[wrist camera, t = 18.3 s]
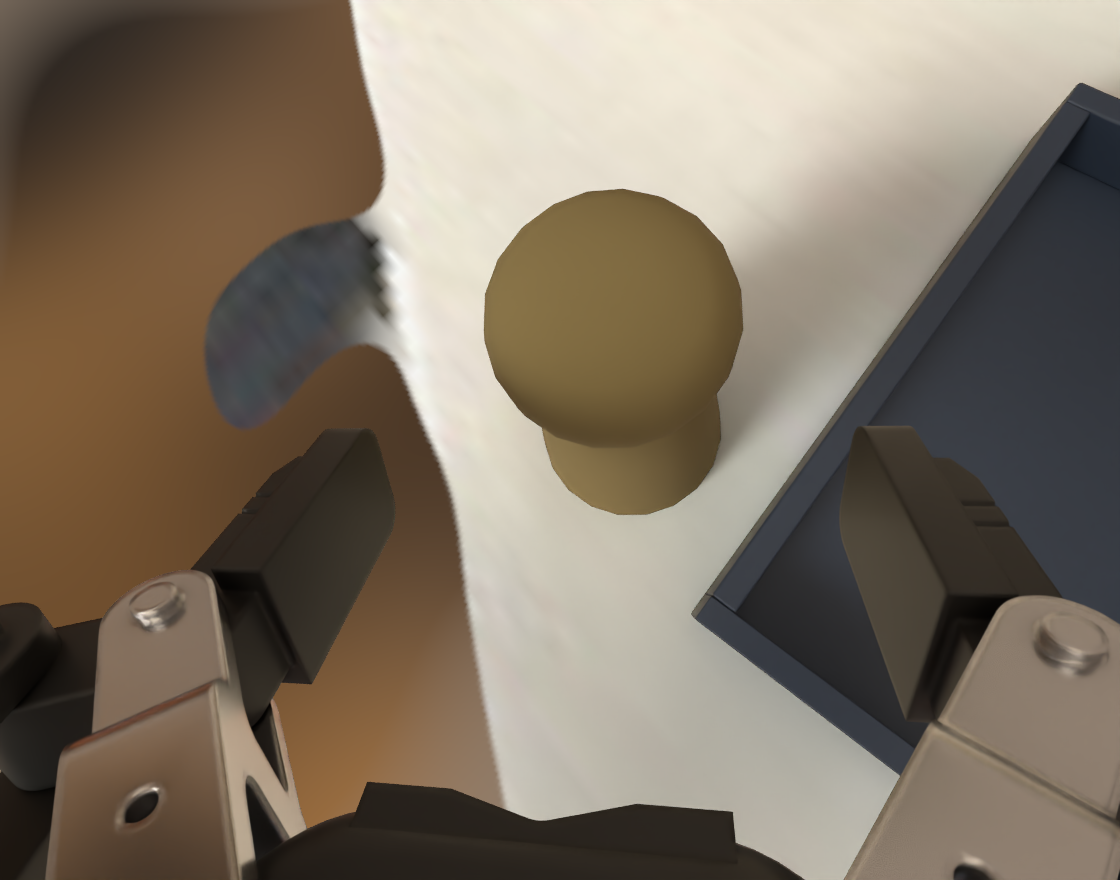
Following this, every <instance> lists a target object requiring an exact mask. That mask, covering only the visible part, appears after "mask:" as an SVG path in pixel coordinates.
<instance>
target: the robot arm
mask: <svg viewBox="0 0 1120 880" xmlns="http://www.w3.org/2000/svg"><path fill="white" fill-rule="evenodd" d="M394 520H395V502H394V497H393V493H392V490H391V486H390V482H389V479H388V476H387V472H386V468H385V465H384V461H383V458H382V454H381V451H380V447H379V444H378V440H377V437H376V435H375V434H374V432H373V431H372V430H370V429H327V430H325V431H323V432H322V434H321V435H320V436H319V437H318V438H317V440H316V441H315V442H314V443H313V444H312V446H311V447H310V448H309V449H308V450H307V452H306V453H305V454H304V455H303V456H302V457H301V456H300V457H297V458H295V459H294V460H292V461H291V462H289V463H288V464H286V465H285V466H284V467H282V468H280V469H279V470H277V471H276V472H274V473H273V474H272V475H271V476H270V477H269V479H268V480H267V481H266V482H265V483H264V484H263V486H262V487H261V488H260V489H259V490H258V491H257V493H256V497H252V499H251V500H250V501H249V502H248V503H247V504H246V505H245V507H244V508H243V509H242V514H238V515H237V516H236V517H235V518H234V519H233V520H232V522H231V523H230V524H229V525H228V526H227V528H226V529H225V530H224V531H223V532H222V533H221V534H220V536H219V537H218V538H217V539H216V540H215V541H214V543H213V544H212V545H211V546H210V547H209V549H208V550H207V551H206V552H205V553H204V554H203V555H202V557H201V558H200V559H199V560H198V561H197V562H196V564H195V565H194V566H193V567H192V568H191V570H181V571H174V572H170V573H166V574H163V575H159V576H157V577H154V578H152V579H150V580H147V581H145V582H143V583H142V584H139V585H138V586H136V587H134V588H133V589H131V590H130V591H128V592H127V593H126V594H124V595H123V596H122V597H120V598H119V599H118V600H117V601H116V602H115V603H114V604H113V605H112V606H111V607H110V608H109V610H108V611H107V612H106V614H105V615H104V617H103V618H100V619H96V620H90V621H86V622H81V623H76V624H72V625H67V626H63V627H57V628H53V627H52V625H51V624H50V623H49V622H48V620H47V619H46V617H45V616H44V614H43V613H42V612H41V610H40V609H39V608H38V607H37V606H35V605H33V604H29V603H11V604H5V605H1V606H0V770H1V773H0V880H804V879H803V878H802V877H800V876H799V875H797V874H796V873H794V872H793V871H791V870H790V869H788V868H787V867H785V866H783V865H782V864H780V863H779V862H777V861H775V860H773V859H771V858H769V857H767V856H765V855H763V854H762V853H760V852H758V851H756V850H754V849H751V848H748V847H746V846H743V845H740V844H738V843H736V842H735V831H734V820H733V812H729V811H717V810H704V809H692V808H680V807H668V806H656V805H643V804H634V805H629V806H623V807H618V808H612V809H607V810H602V811H596V812H591V813H585V814H580V815H575V816H569V817H564V818H558V819H553V820H547V821H536V820H532V819H528V818H526V817H523V816H520V815H518V814H515V813H513V812H510V811H508V810H505V809H502V808H500V807H497V806H495V805H492V804H489V803H487V802H484V801H482V800H479V799H476V798H474V797H471V796H469V795H466V794H464V793H461V792H458V791H456V790H453V789H448V788H436V787H424V786H411V785H399V784H387V783H375V782H367V784H366V787H365V789H364V792H363V795H362V797H361V800H360V802H359V805H358V807H357V810H356V812H353V813H348V814H345V815H342V816H339V817H336V818H333V819H330V820H326V821H324V822H322V823H320V824H317V825H315V826H313V827H310V828H308V829H307V827H306V824H305V821H304V819H303V815H302V812H301V809H300V805H299V801H298V796H297V792H296V787H295V783H294V778H293V774H292V769H291V765H290V760H289V756H288V751H287V747H286V743H285V738H284V734H283V729H282V725H281V720H280V716H279V711H278V708H277V706H276V704H275V702H274V700H273V696H274V694H275V692H276V691H277V689H278V688H279V686H280V684H281V683H299V684H312V683H313V681H314V679H315V677H316V675H317V673H318V672H319V670H320V668H321V666H322V664H323V662H324V660H325V658H326V656H327V654H328V652H329V650H330V649H331V647H332V645H333V643H334V641H335V639H336V637H337V635H338V633H339V632H340V630H341V627H342V626H343V624H344V622H345V620H346V618H347V616H348V614H349V612H350V610H351V609H352V607H353V605H354V603H355V601H356V599H357V597H358V595H359V593H360V591H361V590H362V588H363V586H364V584H365V582H366V580H367V578H368V576H369V574H370V572H371V570H372V569H373V567H374V565H375V563H376V561H377V559H378V557H379V555H380V553H381V552H382V550H383V548H384V546H385V544H386V542H387V540H388V538H389V536H390V534H391V532H392V529H393V526H394ZM839 522H840V533H841V538H842V542H843V546H844V548H845V551H846V554H847V557H848V560H849V563H850V565H851V568H852V571H853V574H854V577H855V579H856V582H857V585H858V588H859V591H860V594H861V596H862V599H863V602H864V605H865V608H866V610H867V613H868V616H869V619H870V622H871V625H872V627H873V630H874V633H875V636H876V639H877V641H878V644H879V647H880V650H881V653H882V655H883V658H884V661H885V664H886V667H887V670H888V672H889V675H890V678H891V681H892V684H893V686H894V689H895V692H896V695H897V698H898V701H899V703H900V706H901V709H902V712H903V715H904V717H905V720H906V721H908V722H925V723H930V724H929V726H928V727H927V729H926V730H925V732H924V734H923V736H922V737H921V739H920V741H919V743H918V745H917V747H916V748H915V750H914V752H913V754H912V756H911V758H910V759H909V761H908V763H907V765H906V767H905V769H904V770H903V772H902V774H901V776H900V778H899V780H898V781H897V783H896V785H895V787H894V789H893V791H892V792H891V794H890V796H889V798H888V800H887V802H886V803H885V805H884V807H883V809H882V811H881V812H880V814H879V816H878V818H877V820H876V822H875V823H874V825H873V827H872V829H871V831H870V833H869V834H868V836H867V838H866V840H865V842H864V844H863V845H862V847H861V849H860V851H859V853H858V855H857V856H856V858H855V860H854V862H853V864H852V866H851V867H850V869H849V871H848V873H847V875H846V877H845V878H844V880H1117V878H1118V874H1119V870H1120V624H1118V623H1117V622H1115V621H1114V620H1112V619H1111V618H1109V617H1107V616H1105V615H1103V614H1102V613H1100V612H1098V611H1096V610H1094V609H1091V608H1089V607H1087V606H1084V605H1082V604H1079V603H1076V602H1073V601H1070V600H1066V599H1064V598H1063V597H1062V595H1061V594H1060V593H1059V591H1058V590H1057V588H1056V587H1055V586H1054V584H1053V583H1052V581H1051V580H1050V578H1049V577H1048V576H1047V574H1046V573H1045V571H1044V570H1043V569H1042V567H1041V566H1040V564H1039V563H1038V561H1037V560H1036V559H1035V557H1034V556H1033V554H1032V553H1031V552H1030V550H1029V549H1028V547H1027V546H1026V544H1025V543H1024V542H1023V540H1022V539H1021V537H1020V536H1019V535H1018V533H1017V532H1016V530H1015V529H1014V527H1010V526H1009V520H1008V519H1007V518H1006V516H1005V515H1004V513H1003V512H1002V510H1001V509H1000V508H999V507H996V506H995V501H994V499H993V498H992V496H991V495H990V493H989V492H988V491H987V489H986V488H985V486H984V485H983V484H982V482H981V481H980V479H979V478H978V477H976V476H975V475H974V474H972V473H971V472H969V471H968V470H966V469H965V468H963V467H962V466H961V465H959V464H958V463H956V462H955V461H953V460H952V459H951V458H933V457H932V456H931V454H930V453H929V451H928V449H927V448H926V446H925V445H924V443H923V442H922V440H921V438H920V437H919V435H918V434H917V432H916V431H915V429H914V428H913V427H912V426H859V427H857V428H856V430H855V432H854V434H853V438H852V443H851V448H850V454H849V459H848V464H847V470H846V475H845V481H844V486H843V492H842V497H841V503H840V512H839Z"/></svg>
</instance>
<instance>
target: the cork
mask: <svg viewBox="0 0 1120 880" xmlns="http://www.w3.org/2000/svg"><path fill="white" fill-rule="evenodd" d="M742 332H743V316H742V299H741V289H740V285H739V282H738V279H737V277H736V274H735V272H734V270H733V267H732V265H731V263H730V260H729V258H728V256H727V253H726V251H725V249H724V246H723V244H722V243H721V242H720V241H719V240H718V239H717V238H716V236H715V235H714V234H713V233H712V232H711V231H710V230H709V229H708V228H707V227H706V226H705V225H704V223H703V222H702V221H701V220H700V219H699V218H698V217H697V216H695V215H694V214H692V213H690V212H688V211H686V210H684V209H683V208H681V207H679V206H677V205H675V204H674V203H672V202H670V201H668V200H666V199H665V198H662V197H659V196H655V195H650V194H645V193H640V192H635V191H631V190H626V189H616V190H603V191H591V192H585V193H583V194H580V195H577V196H575V197H572V198H569V199H567V200H564V201H561V202H559V203H556V204H554V205H552V206H551V207H550V208H548V209H547V210H545V211H544V212H543V213H541V214H540V215H539V216H537V217H536V218H535V219H533V220H532V221H530V222H529V223H528V224H526V225H525V226H524V227H523V228H522V229H521V230H520V231H519V233H518V234H517V235H516V236H515V238H514V239H513V240H512V242H511V243H510V244H509V246H508V247H507V248H506V250H505V251H504V252H503V253H502V255H501V256H500V257H499V259H498V261H497V263H496V266H495V269H494V271H493V274H492V277H491V280H490V282H489V285H488V288H487V290H486V293H485V312H484V339H485V345H486V348H487V351H488V354H489V358H490V361H491V364H492V368H493V371H494V374H495V377H496V379H497V380H498V382H499V383H500V384H501V386H502V387H503V388H504V390H505V391H506V393H507V394H508V395H509V397H510V398H511V399H512V401H513V402H514V404H515V405H516V406H517V408H518V409H519V410H520V411H521V412H522V413H523V414H524V415H525V416H526V417H527V418H529V419H530V420H532V421H533V422H535V423H536V424H537V425H539V426H540V427H542V431H543V436H544V441H545V445H546V448H547V451H548V454H549V457H550V460H551V464H552V467H553V469H554V470H555V472H556V473H557V474H558V476H559V477H560V479H561V480H562V481H563V483H564V484H565V485H566V487H567V488H568V490H569V491H571V492H572V493H574V494H575V495H576V496H578V497H579V498H581V499H582V500H583V501H585V502H586V503H588V504H589V505H590V506H592V507H595V508H599V509H602V510H605V511H608V512H611V513H614V514H618V515H643V514H650V513H653V512H656V511H659V510H662V509H665V508H668V507H671V506H674V505H675V504H676V503H678V502H679V501H681V500H682V499H683V498H685V497H686V496H687V495H689V494H690V493H691V492H693V491H694V490H695V489H697V488H698V486H699V485H700V483H701V482H702V480H703V479H704V478H705V476H706V475H707V473H708V472H709V470H710V469H711V468H712V466H713V464H714V460H715V457H716V454H717V450H718V447H719V443H720V440H721V431H720V411H719V405H718V400H717V392H718V391H719V390H720V388H721V387H722V385H723V384H724V383H725V381H726V380H727V378H728V377H729V374H730V371H731V369H732V366H733V362H734V359H735V356H736V352H737V349H738V345H739V342H740V339H741V335H742Z"/></svg>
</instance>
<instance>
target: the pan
mask: <svg viewBox="0 0 1120 880" xmlns="http://www.w3.org/2000/svg"><path fill="white" fill-rule="evenodd" d="M859 426H912V427H913V428H914V429H915V431H916V432H917V434H918V435H919V437H920V438H921V440H922V442H923V443H924V445H925V446H926V448H927V449H928V451H929V453H930V454H931V456H932V457H933V458H951V459H952V460H953V461H955V462H956V463H958V464H959V465H961V466H962V467H963V468H965V469H966V470H968V471H969V472H971V473H972V474H974V475H975V476H976V477H978V478H979V479H980V481H981V482H982V484H983V485H984V486H985V488H986V489H987V491H988V492H989V493H990V495H991V496H992V498H993V499H994V501H995V506H996V507H999V508H1000V509H1001V510H1002V512H1003V513H1004V515H1005V516H1006V518H1007V519H1008V520H1009V526H1010V527H1014V529H1015V530H1016V532H1017V533H1018V535H1019V536H1020V537H1021V539H1022V540H1023V542H1024V543H1025V544H1026V546H1027V547H1028V549H1029V550H1030V552H1031V553H1032V554H1033V556H1034V557H1035V559H1036V560H1037V561H1038V563H1039V564H1040V566H1041V567H1042V569H1043V570H1044V571H1045V573H1046V574H1047V576H1048V577H1049V578H1050V580H1051V581H1052V583H1053V584H1054V586H1055V587H1056V588H1057V590H1058V591H1059V593H1060V594H1061V595H1062V597H1063V598H1064V599H1066V600H1070V601H1073V602H1076V603H1079V604H1082V605H1084V606H1087V607H1089V608H1091V609H1094V610H1096V611H1098V612H1100V613H1102V614H1103V615H1105V616H1107V617H1109V618H1111V619H1112V620H1114V621H1115V622H1117V623H1118V624H1120V99H1118V98H1116V97H1113V96H1111V95H1109V94H1106V93H1104V92H1102V91H1100V90H1097V89H1095V88H1093V87H1090V86H1088V85H1086V84H1084V83H1079V84H1078V85H1076V87H1075V88H1074V89H1073V90H1072V91H1071V93H1070V94H1069V95H1068V96H1067V97H1066V99H1065V100H1064V101H1063V102H1062V103H1061V105H1060V106H1059V107H1058V108H1057V109H1056V111H1055V112H1054V113H1053V114H1052V115H1051V117H1050V118H1049V119H1048V120H1047V121H1046V123H1045V124H1044V125H1043V126H1042V127H1041V129H1040V130H1039V131H1038V132H1037V133H1036V135H1035V136H1034V137H1033V138H1032V139H1031V141H1030V142H1029V143H1028V145H1027V146H1026V148H1025V149H1024V150H1023V152H1022V153H1021V155H1020V156H1019V157H1018V159H1017V160H1016V162H1015V163H1014V164H1013V166H1012V167H1011V169H1010V170H1009V171H1008V173H1007V174H1006V175H1005V177H1004V178H1003V180H1002V181H1001V182H1000V184H999V185H998V187H997V188H996V189H995V191H994V192H993V194H992V195H991V196H990V198H989V199H988V201H987V202H986V203H985V205H984V206H983V208H982V209H981V210H980V212H979V213H978V214H977V216H976V217H975V219H974V220H973V221H972V223H971V224H970V226H969V227H968V228H967V230H966V231H965V233H964V234H963V235H962V237H961V238H960V240H959V241H958V242H957V244H956V245H955V247H954V248H953V249H952V251H951V252H950V253H949V255H948V256H947V258H946V259H945V260H944V262H943V263H942V265H941V266H940V267H939V269H938V270H937V272H936V273H935V274H934V276H933V277H932V279H931V280H930V281H929V283H928V284H927V286H926V287H925V288H924V290H923V291H922V292H921V294H920V295H919V297H918V298H917V299H916V301H915V302H914V304H913V305H912V306H911V308H910V309H909V311H908V312H907V313H906V315H905V316H904V318H903V319H902V320H901V322H900V323H899V325H898V326H897V327H896V329H895V330H894V331H893V333H892V334H891V336H890V337H889V338H888V340H887V341H886V343H885V344H884V345H883V347H882V348H881V350H880V351H879V352H878V354H877V355H876V357H875V358H874V359H873V361H872V362H871V364H870V365H869V366H868V368H867V369H866V370H865V372H864V373H863V375H862V376H861V377H860V379H859V380H858V382H857V383H856V384H855V386H854V387H853V389H852V390H851V391H850V393H849V394H848V396H847V397H846V398H845V400H844V401H843V403H842V404H841V405H840V407H839V408H838V409H837V411H836V412H835V414H834V415H833V416H832V418H831V419H830V421H829V422H828V423H827V425H826V426H825V428H824V429H823V430H822V432H821V433H820V435H819V436H818V437H817V439H816V440H815V442H814V443H813V444H812V446H811V447H810V449H809V450H808V451H807V453H806V454H805V455H804V457H803V458H802V460H801V461H800V462H799V464H798V465H797V467H796V468H795V469H794V471H793V472H792V474H791V475H790V476H789V478H788V479H787V481H786V482H785V483H784V485H783V486H782V488H781V489H780V490H779V492H778V493H777V494H776V496H775V497H774V499H773V500H772V501H771V503H770V504H769V506H768V507H767V508H766V510H765V511H764V513H763V514H762V515H761V517H760V518H759V520H758V521H757V522H756V524H755V525H754V527H753V528H752V529H751V531H750V532H749V533H748V535H747V536H746V538H745V539H744V540H743V542H742V543H741V545H740V546H739V547H738V549H737V550H736V552H735V553H734V554H733V556H732V557H731V559H730V560H729V561H728V563H727V564H726V566H725V567H724V568H723V570H722V571H721V572H720V574H719V575H718V577H717V578H716V579H715V581H714V582H713V584H712V585H711V586H710V588H709V589H708V591H707V592H706V593H705V595H704V596H703V598H702V599H701V600H700V602H699V603H698V605H697V606H696V607H695V609H694V610H693V611H692V613H691V615H692V616H693V617H694V618H695V619H696V620H697V621H698V622H700V623H701V624H702V625H704V626H705V627H706V628H707V629H709V630H710V631H711V632H713V633H714V634H715V635H717V636H718V637H719V638H721V639H722V640H723V641H724V642H726V643H727V644H728V645H730V646H731V647H732V648H734V649H735V650H736V651H738V652H739V653H740V654H741V655H743V656H744V657H745V658H747V659H748V660H749V661H751V662H752V663H753V664H755V665H756V666H757V667H759V668H760V669H761V670H762V671H764V672H765V673H766V674H768V675H769V676H770V677H772V678H773V679H774V680H776V681H777V682H778V683H779V684H781V685H782V686H783V687H785V688H786V689H787V690H789V691H790V692H791V693H793V694H794V695H795V696H796V697H798V698H799V699H800V700H802V701H803V702H804V703H806V704H807V705H808V706H810V707H811V708H812V709H814V710H815V711H816V712H817V713H819V714H820V715H821V716H823V717H824V718H825V719H827V720H828V721H829V722H831V723H832V724H833V725H834V726H836V727H837V728H838V729H840V730H841V731H842V732H844V733H845V734H846V735H848V736H849V737H850V738H851V739H853V740H854V741H855V742H857V743H858V744H859V745H861V746H862V747H863V748H865V749H866V750H867V751H869V752H870V753H871V754H872V755H874V756H875V757H876V758H878V759H879V760H880V761H882V762H883V763H884V764H886V765H887V766H888V767H889V768H891V769H892V770H893V771H895V772H896V773H897V774H899V775H900V776H901V774H902V772H903V770H904V769H905V767H906V765H907V763H908V761H909V759H910V758H911V756H912V754H913V752H914V750H915V748H916V747H917V745H918V743H919V741H920V739H921V737H922V736H923V734H924V732H925V730H926V729H927V727H928V726H929V724H930V723H925V722H908V721H906V720H905V717H904V715H903V712H902V709H901V706H900V703H899V701H898V698H897V695H896V692H895V689H894V686H893V684H892V681H891V678H890V675H889V672H888V670H887V667H886V664H885V661H884V658H883V655H882V653H881V650H880V647H879V644H878V641H877V639H876V636H875V633H874V630H873V627H872V625H871V622H870V619H869V616H868V613H867V610H866V608H865V605H864V602H863V599H862V596H861V594H860V591H859V588H858V585H857V582H856V579H855V577H854V574H853V571H852V568H851V565H850V563H849V560H848V557H847V554H846V551H845V548H844V546H843V542H842V538H841V533H840V522H839V512H840V503H841V497H842V492H843V486H844V481H845V475H846V470H847V464H848V459H849V454H850V448H851V443H852V438H853V434H854V432H855V430H856V428H857V427H859ZM1117 880H1120V870H1119V874H1118V878H1117Z"/></svg>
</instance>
